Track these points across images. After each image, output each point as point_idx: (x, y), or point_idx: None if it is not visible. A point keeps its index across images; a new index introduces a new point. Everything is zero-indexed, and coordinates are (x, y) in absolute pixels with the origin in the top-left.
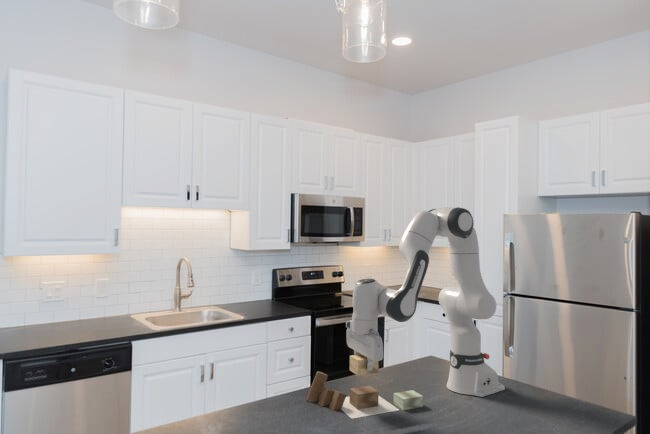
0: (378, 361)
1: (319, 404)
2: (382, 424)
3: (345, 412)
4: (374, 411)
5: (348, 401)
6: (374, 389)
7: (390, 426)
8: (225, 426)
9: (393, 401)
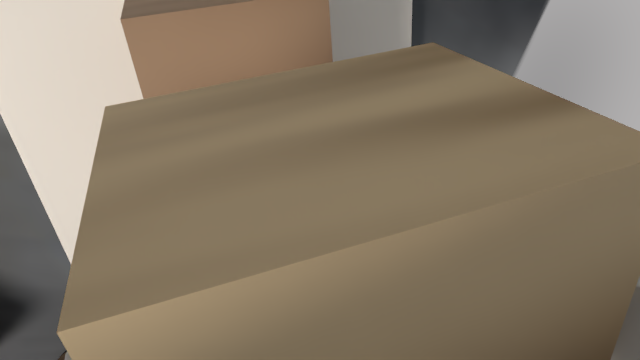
0: (595, 114)
1: None
2: (485, 41)
3: None
4: (368, 47)
5: None
6: (264, 14)
7: (525, 2)
8: None
9: None
